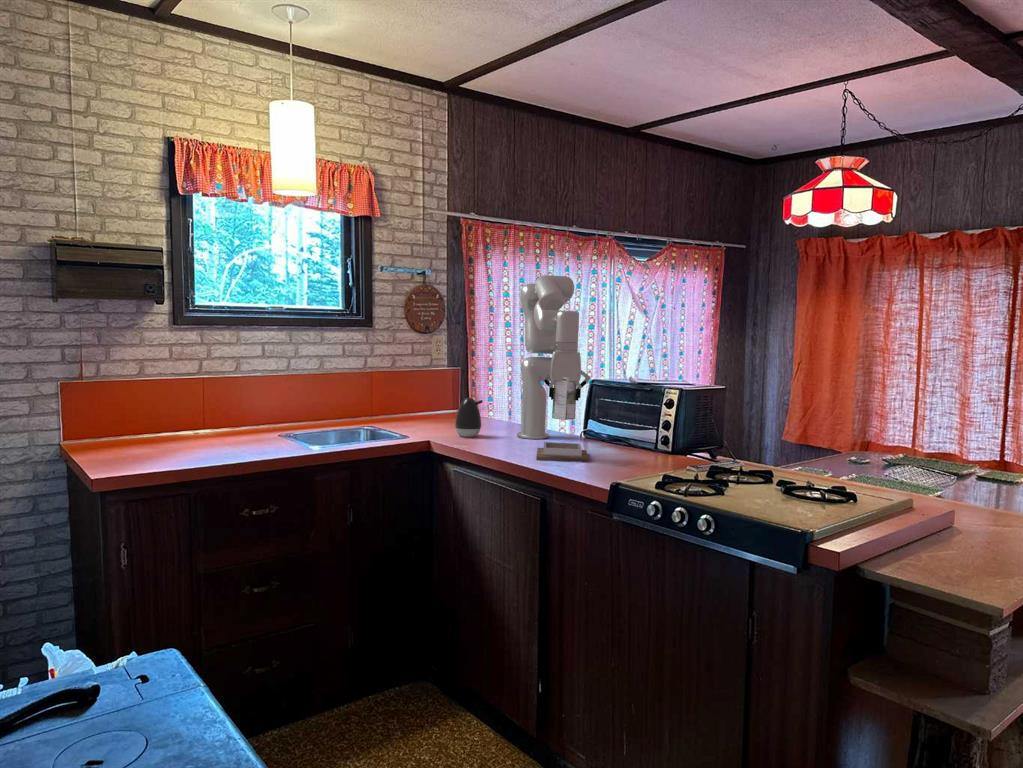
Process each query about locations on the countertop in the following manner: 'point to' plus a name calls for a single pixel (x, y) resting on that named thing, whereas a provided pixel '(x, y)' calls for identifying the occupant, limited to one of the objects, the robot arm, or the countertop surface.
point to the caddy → (562, 452)
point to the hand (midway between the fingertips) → (564, 399)
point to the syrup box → (564, 399)
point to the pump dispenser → (468, 418)
